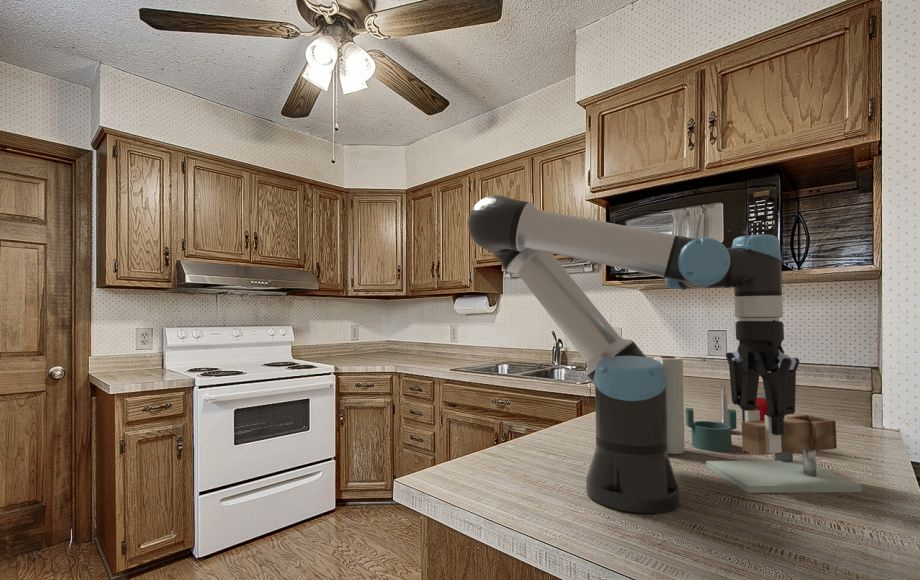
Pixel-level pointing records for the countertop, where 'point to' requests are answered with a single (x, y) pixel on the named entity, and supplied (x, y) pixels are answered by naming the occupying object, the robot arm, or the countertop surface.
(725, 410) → the screw
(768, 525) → the countertop surface
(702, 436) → the teal hollow cylinder
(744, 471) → the base board
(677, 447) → the paper towel roll
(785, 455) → the keeper
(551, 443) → the countertop surface
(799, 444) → the link
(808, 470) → the cylinder
